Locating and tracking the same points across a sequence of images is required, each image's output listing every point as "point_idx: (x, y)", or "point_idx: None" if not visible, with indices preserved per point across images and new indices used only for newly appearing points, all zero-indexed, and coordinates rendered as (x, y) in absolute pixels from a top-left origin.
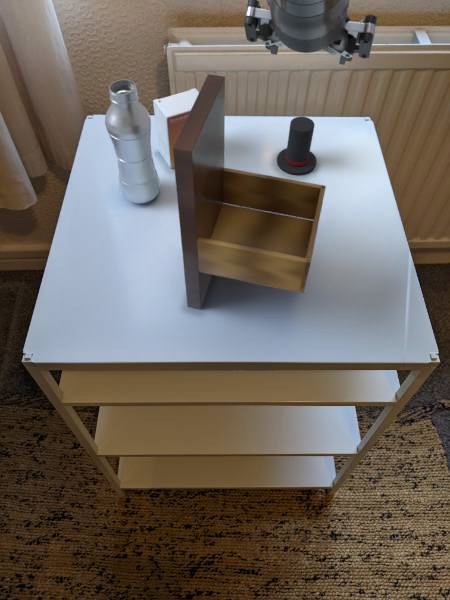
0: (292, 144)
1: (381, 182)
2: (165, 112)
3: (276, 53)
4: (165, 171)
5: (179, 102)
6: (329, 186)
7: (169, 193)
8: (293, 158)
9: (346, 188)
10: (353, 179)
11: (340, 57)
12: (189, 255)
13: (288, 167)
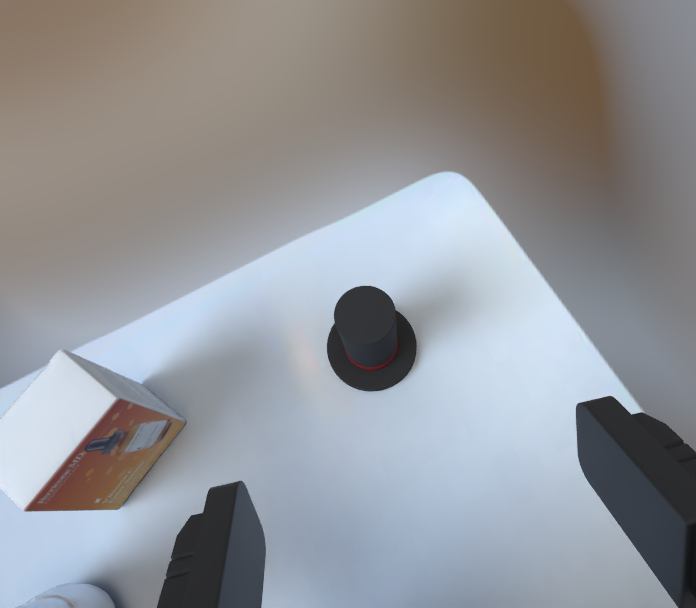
0: (359, 354)
1: (566, 318)
2: (13, 491)
3: (263, 563)
4: (110, 521)
5: (37, 430)
6: (470, 385)
7: (145, 590)
8: (369, 365)
9: (506, 373)
10: (507, 338)
11: (659, 579)
12: None
13: (365, 378)
